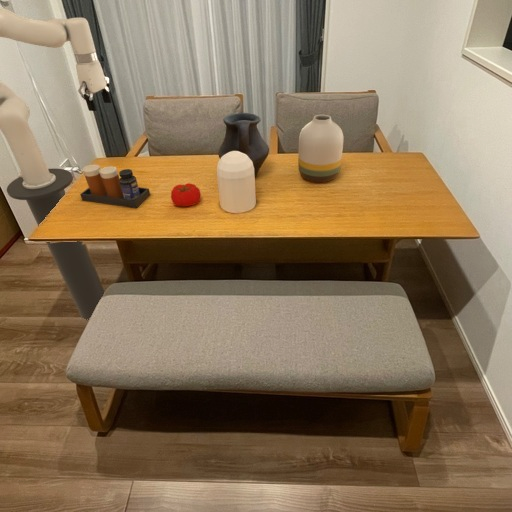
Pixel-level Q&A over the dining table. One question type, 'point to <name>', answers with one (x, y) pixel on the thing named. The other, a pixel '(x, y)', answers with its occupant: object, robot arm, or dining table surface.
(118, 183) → the amber bottle
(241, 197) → the container
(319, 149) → the vase
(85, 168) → the amber bottle
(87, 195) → the tray
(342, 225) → the dining table surface
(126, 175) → the pill bottle
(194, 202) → the tomato
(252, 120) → the pitcher
